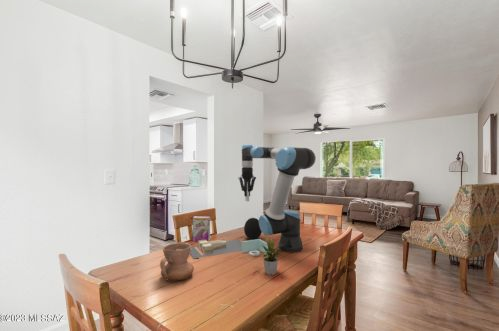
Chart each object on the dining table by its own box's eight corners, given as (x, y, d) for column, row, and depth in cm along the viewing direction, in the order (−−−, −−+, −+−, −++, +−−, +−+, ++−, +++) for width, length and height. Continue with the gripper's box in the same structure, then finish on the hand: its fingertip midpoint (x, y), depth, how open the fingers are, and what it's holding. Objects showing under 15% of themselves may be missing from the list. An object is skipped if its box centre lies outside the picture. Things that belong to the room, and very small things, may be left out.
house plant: (249, 267, 129) (249, 235, 129) (274, 264, 134) (274, 232, 134) (261, 279, 116) (261, 243, 116) (288, 275, 121) (288, 240, 121)
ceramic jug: (180, 267, 130) (179, 239, 130) (202, 273, 122) (201, 243, 122) (149, 281, 115) (148, 249, 115) (172, 289, 107) (171, 255, 107)
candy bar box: (192, 242, 173) (192, 217, 173) (194, 240, 178) (194, 216, 178) (208, 242, 172) (208, 217, 172) (210, 240, 177) (210, 216, 177)
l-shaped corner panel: (241, 254, 151) (241, 241, 151) (259, 251, 156) (260, 239, 156) (251, 261, 140) (251, 247, 140) (270, 257, 145) (270, 244, 146)
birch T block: (229, 250, 154) (229, 243, 154) (204, 254, 147) (204, 247, 147) (220, 243, 168) (220, 237, 168) (197, 247, 161) (197, 240, 161)
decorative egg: (265, 238, 181) (265, 217, 181) (256, 243, 170) (256, 220, 170) (249, 236, 187) (250, 215, 187) (240, 240, 177) (240, 218, 177)
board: (252, 249, 157) (252, 248, 157) (194, 259, 141) (194, 258, 141) (238, 240, 177) (238, 239, 177) (184, 247, 161) (184, 247, 161)
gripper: (253, 167, 186) (253, 199, 186) (236, 167, 181) (236, 200, 181) (258, 167, 180) (258, 201, 180) (241, 167, 174) (241, 202, 174)
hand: (247, 201), depth 180 cm, fingers closed
